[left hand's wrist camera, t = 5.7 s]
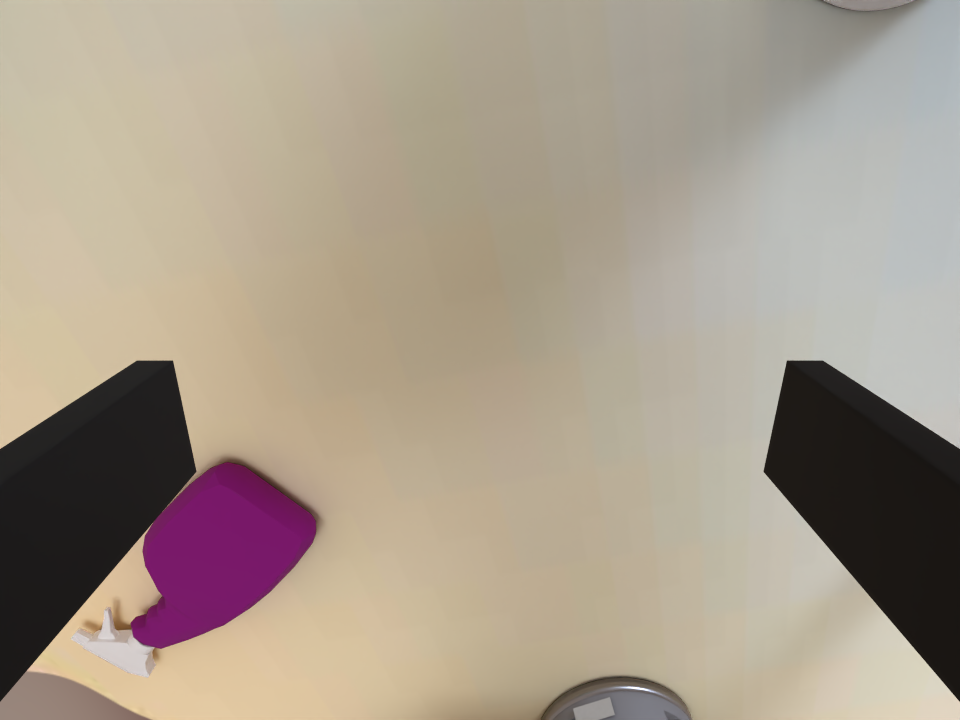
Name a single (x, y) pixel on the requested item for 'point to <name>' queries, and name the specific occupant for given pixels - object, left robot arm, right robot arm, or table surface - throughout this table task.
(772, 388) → the table surface
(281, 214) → the table surface
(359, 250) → the table surface
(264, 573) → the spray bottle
